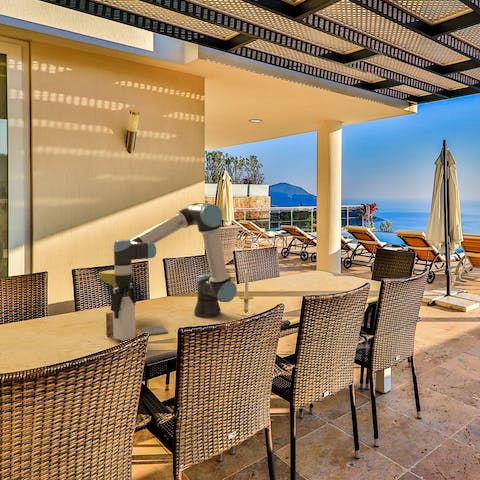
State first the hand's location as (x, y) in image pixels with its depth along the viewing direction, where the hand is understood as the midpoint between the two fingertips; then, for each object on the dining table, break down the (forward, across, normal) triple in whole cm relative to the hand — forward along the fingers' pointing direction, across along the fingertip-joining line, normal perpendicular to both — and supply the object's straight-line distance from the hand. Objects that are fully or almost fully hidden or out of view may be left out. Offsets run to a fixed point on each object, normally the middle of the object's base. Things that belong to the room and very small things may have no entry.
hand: (124, 322), depth 193 cm
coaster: (+9, -17, +5) cm, 20 cm away
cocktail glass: (+9, -33, -29) cm, 45 cm away
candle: (+10, -65, +36) cm, 75 cm away
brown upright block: (+9, -6, -7) cm, 13 cm away
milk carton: (+8, 0, 0) cm, 8 cm away
